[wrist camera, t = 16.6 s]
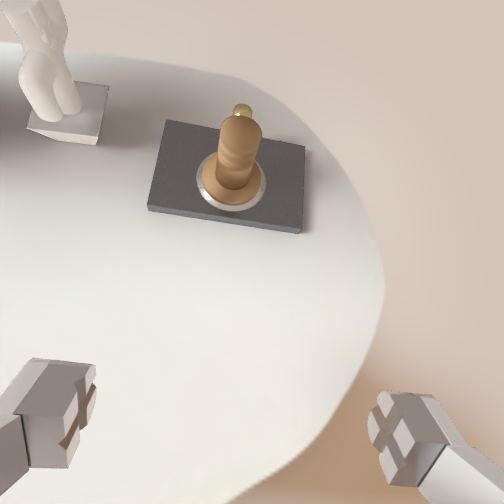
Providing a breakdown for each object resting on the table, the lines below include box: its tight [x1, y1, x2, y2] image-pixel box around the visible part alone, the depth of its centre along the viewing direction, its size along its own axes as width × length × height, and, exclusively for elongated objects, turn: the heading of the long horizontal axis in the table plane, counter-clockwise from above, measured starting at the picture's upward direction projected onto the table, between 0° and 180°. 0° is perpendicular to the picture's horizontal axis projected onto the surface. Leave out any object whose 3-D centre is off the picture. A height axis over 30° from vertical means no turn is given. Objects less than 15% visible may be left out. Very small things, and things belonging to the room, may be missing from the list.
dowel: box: [233, 104, 252, 118], centre depth 38 cm, size 2×2×6 cm
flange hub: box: [202, 115, 262, 206], centre depth 35 cm, size 7×7×8 cm
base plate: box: [147, 119, 305, 234], centre depth 40 cm, size 18×12×2 cm, turn 85°
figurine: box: [0, 0, 109, 145], centre depth 32 cm, size 7×9×15 cm
